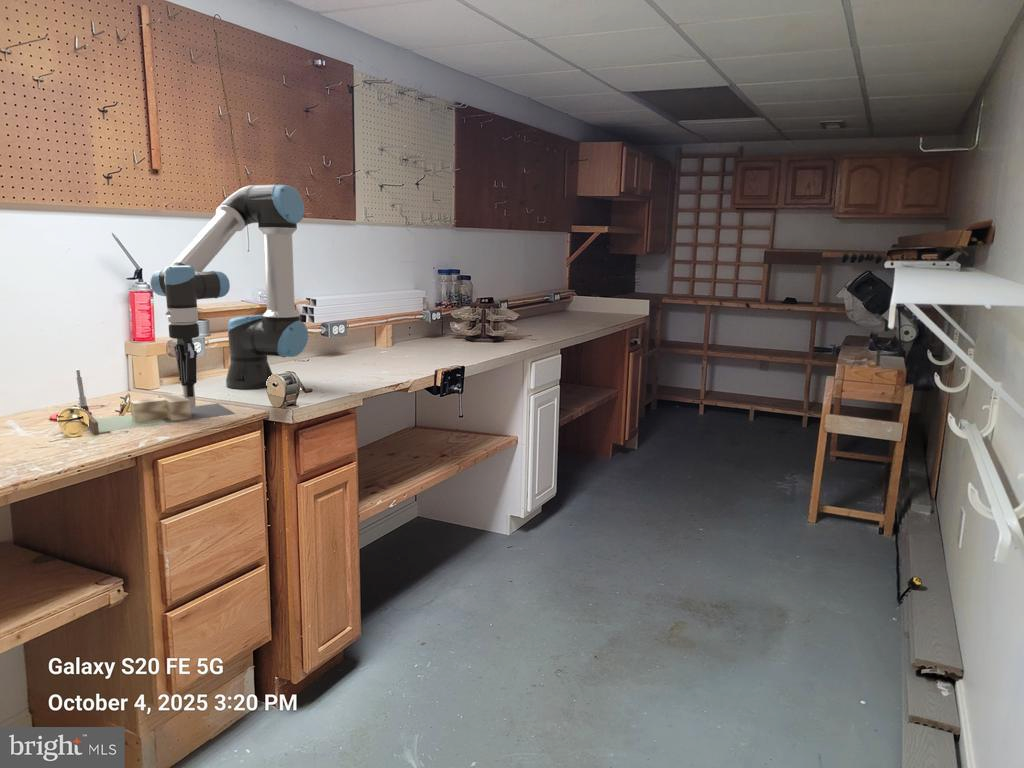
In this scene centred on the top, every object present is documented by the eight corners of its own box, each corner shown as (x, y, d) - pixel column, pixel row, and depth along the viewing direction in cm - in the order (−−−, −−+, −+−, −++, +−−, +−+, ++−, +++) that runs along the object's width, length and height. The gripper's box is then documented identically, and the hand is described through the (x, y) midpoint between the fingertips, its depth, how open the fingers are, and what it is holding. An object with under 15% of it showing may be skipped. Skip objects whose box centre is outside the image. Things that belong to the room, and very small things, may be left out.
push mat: (217, 404, 220) (217, 394, 219) (235, 415, 207) (235, 404, 207) (83, 421, 198) (82, 410, 198) (94, 434, 186) (93, 422, 185)
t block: (178, 409, 211) (177, 392, 210) (191, 418, 202) (189, 400, 201) (128, 416, 203) (126, 398, 202) (139, 425, 194) (137, 406, 193)
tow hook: (56, 424, 197) (93, 417, 204) (47, 377, 194) (86, 370, 201) (46, 419, 203) (83, 412, 209) (37, 373, 200) (75, 367, 206)
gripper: (162, 321, 205) (169, 405, 210) (175, 326, 195) (182, 413, 200) (190, 320, 210) (196, 401, 214) (205, 324, 200) (211, 410, 204)
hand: (189, 407), depth 207 cm, fingers closed
